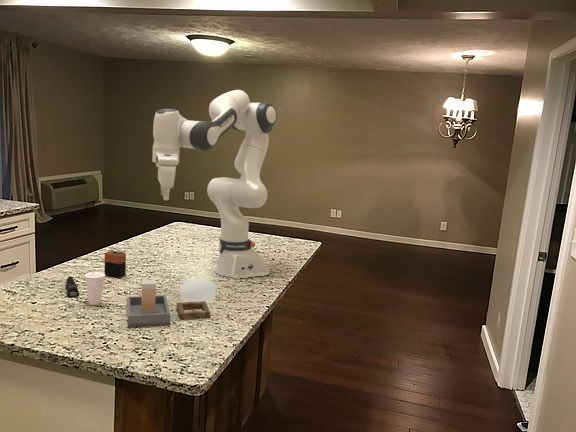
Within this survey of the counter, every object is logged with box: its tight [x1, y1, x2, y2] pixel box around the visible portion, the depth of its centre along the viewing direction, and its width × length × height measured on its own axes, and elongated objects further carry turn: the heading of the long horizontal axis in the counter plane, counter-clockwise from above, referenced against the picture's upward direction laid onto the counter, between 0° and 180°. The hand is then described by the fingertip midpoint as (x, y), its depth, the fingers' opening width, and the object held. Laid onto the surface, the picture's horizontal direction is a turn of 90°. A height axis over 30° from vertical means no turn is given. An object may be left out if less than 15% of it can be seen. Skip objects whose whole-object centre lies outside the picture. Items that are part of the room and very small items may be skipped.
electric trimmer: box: [65, 275, 80, 299], centre depth 169 cm, size 4×16×3 cm, turn 27°
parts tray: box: [126, 294, 171, 328], centre depth 152 cm, size 12×16×4 cm
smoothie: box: [83, 261, 106, 306], centre depth 157 cm, size 6×6×14 cm
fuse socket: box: [176, 300, 211, 321], centre depth 156 cm, size 9×9×2 cm
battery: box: [104, 249, 127, 279], centre depth 186 cm, size 4×7×10 cm, turn 76°
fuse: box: [140, 279, 157, 314], centre depth 151 cm, size 4×4×10 cm
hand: (164, 197), depth 167 cm, fingers open, 8 cm apart
